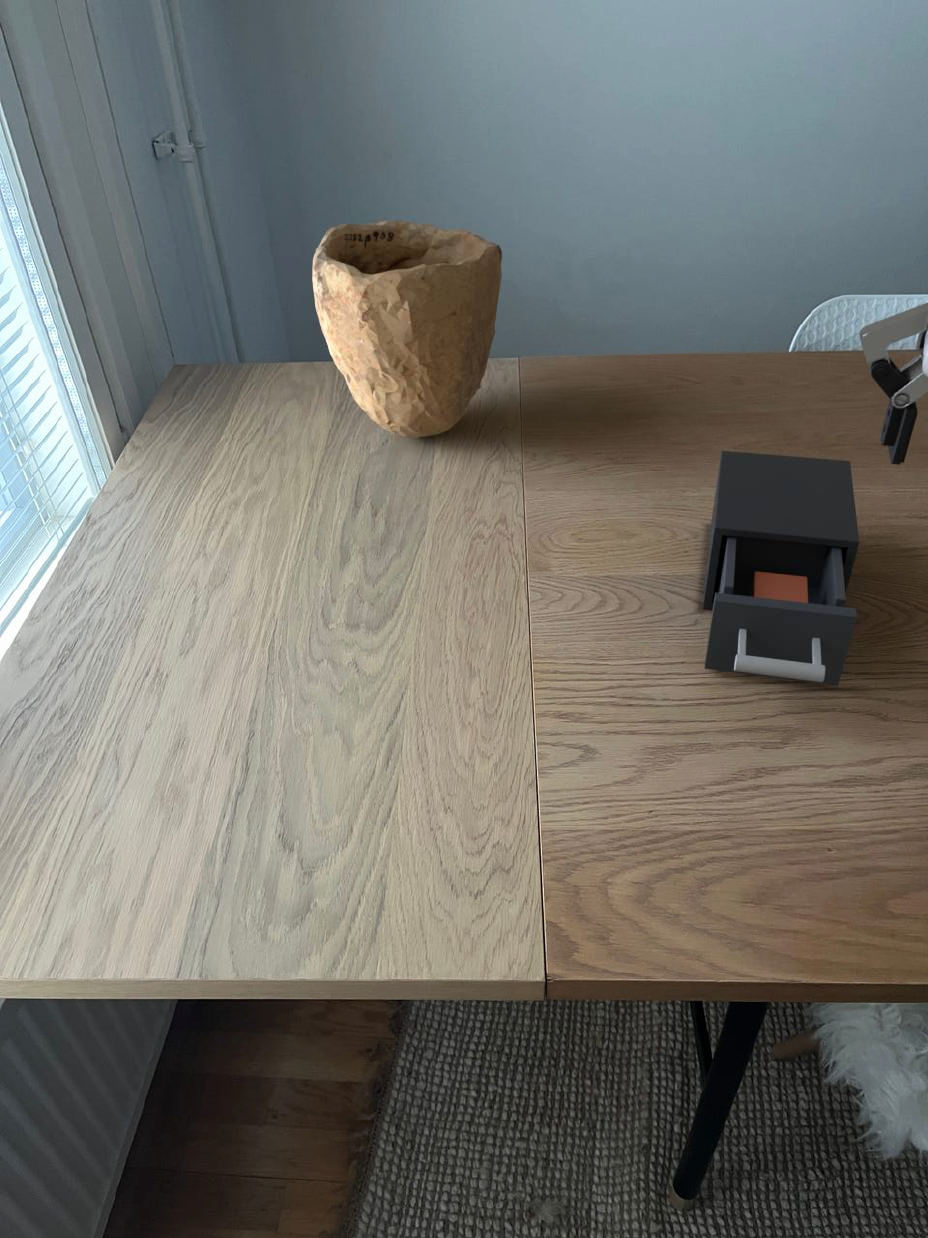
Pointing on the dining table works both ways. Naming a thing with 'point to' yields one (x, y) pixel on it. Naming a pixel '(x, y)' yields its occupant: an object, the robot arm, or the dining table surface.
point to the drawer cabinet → (781, 507)
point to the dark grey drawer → (780, 614)
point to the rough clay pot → (408, 318)
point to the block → (780, 587)
